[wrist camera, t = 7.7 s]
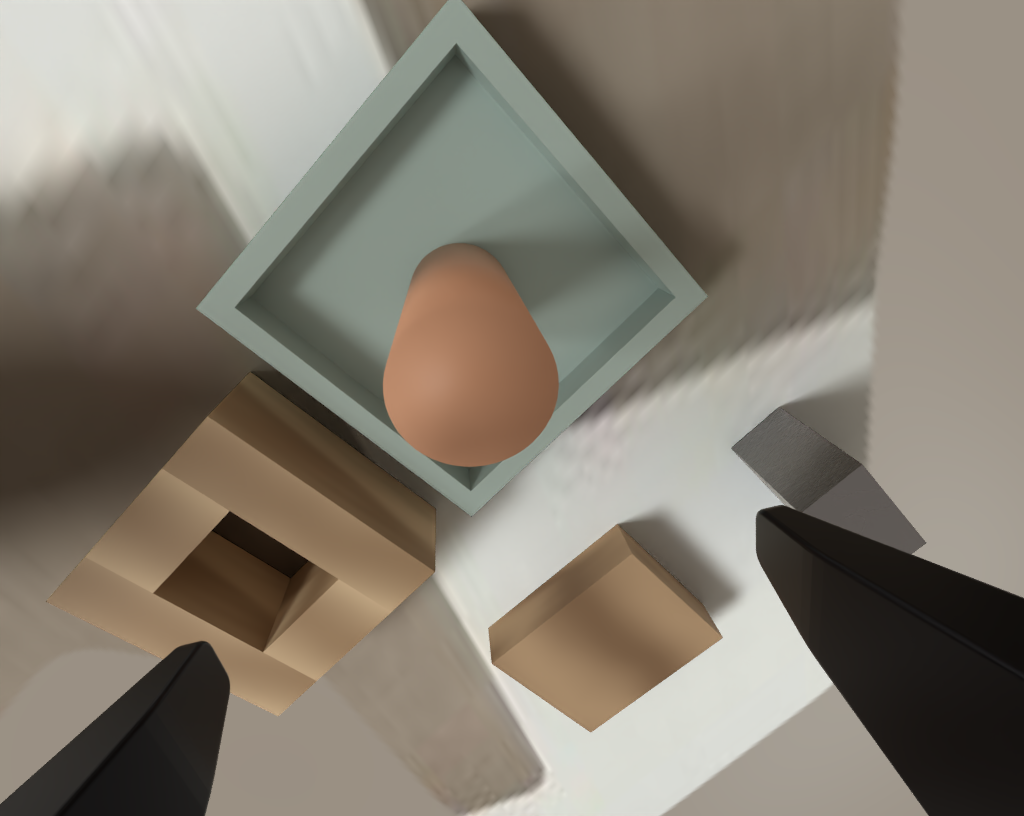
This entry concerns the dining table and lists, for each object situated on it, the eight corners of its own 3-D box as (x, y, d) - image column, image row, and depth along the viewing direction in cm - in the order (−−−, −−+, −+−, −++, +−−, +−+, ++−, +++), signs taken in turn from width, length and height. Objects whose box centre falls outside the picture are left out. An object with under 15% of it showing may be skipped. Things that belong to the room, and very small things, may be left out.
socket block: (302, 636, 25) (278, 716, 21) (112, 529, 22) (45, 601, 18) (436, 508, 23) (435, 571, 20) (250, 371, 20) (207, 416, 16)
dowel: (521, 327, 20) (575, 439, 12) (428, 355, 20) (417, 485, 12) (494, 230, 18) (535, 280, 10) (394, 259, 18) (355, 333, 10)
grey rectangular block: (791, 512, 26) (867, 586, 21) (731, 448, 24) (800, 513, 19) (837, 475, 25) (926, 543, 20) (779, 407, 23) (862, 464, 19)
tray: (469, 486, 23) (471, 516, 21) (221, 294, 19) (195, 308, 17) (682, 284, 21) (707, 296, 19) (452, 14, 16) (454, -8, 14)
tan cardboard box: (579, 688, 29) (590, 732, 27) (487, 621, 27) (491, 663, 24) (699, 599, 28) (722, 637, 25) (614, 518, 25) (631, 553, 23)
